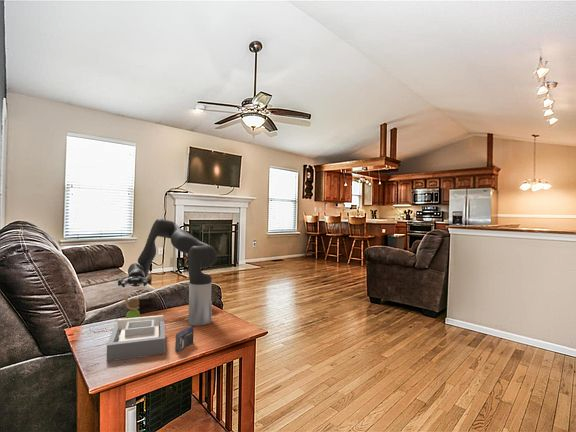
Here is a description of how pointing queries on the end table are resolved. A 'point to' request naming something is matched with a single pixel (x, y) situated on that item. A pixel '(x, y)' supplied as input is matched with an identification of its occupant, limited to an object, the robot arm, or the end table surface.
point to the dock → (135, 345)
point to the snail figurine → (132, 307)
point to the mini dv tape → (184, 339)
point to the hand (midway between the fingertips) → (134, 284)
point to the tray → (139, 327)
